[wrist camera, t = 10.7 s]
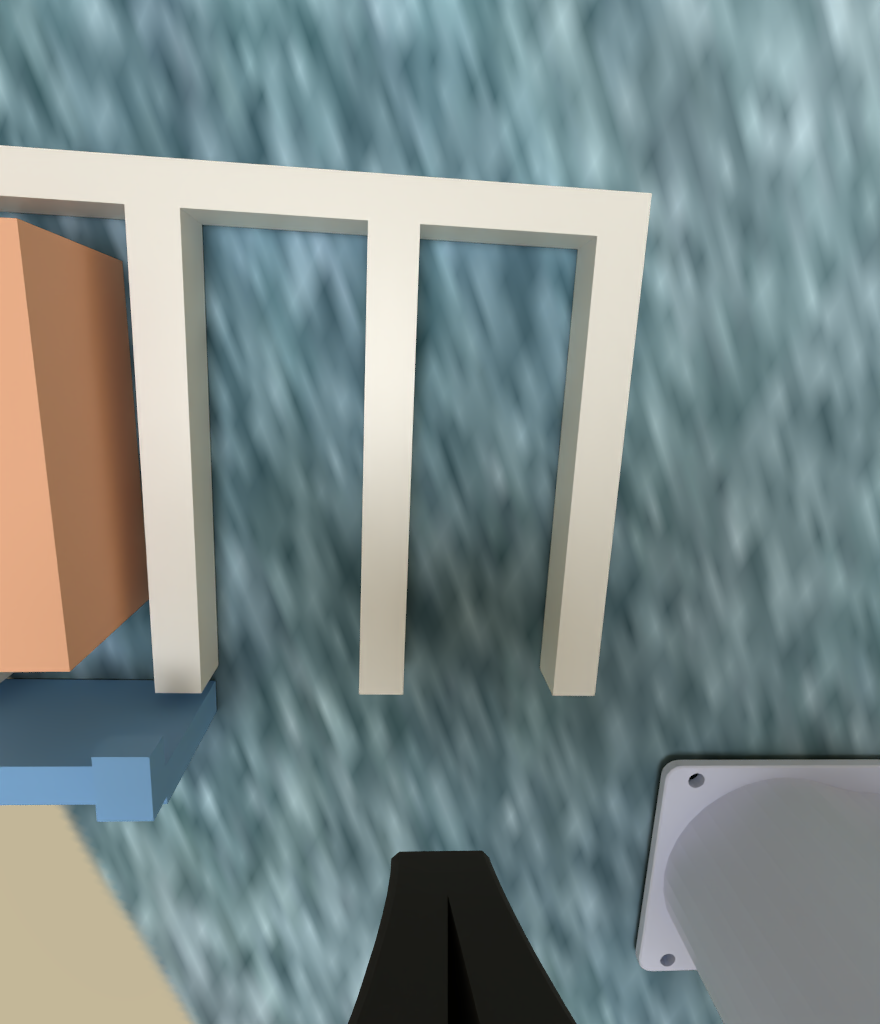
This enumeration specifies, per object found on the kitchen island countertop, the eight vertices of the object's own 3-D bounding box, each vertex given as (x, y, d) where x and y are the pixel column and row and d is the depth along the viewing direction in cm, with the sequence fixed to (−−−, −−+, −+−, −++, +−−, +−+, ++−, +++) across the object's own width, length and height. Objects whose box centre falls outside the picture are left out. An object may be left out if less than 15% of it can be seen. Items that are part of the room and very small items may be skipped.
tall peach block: (124, 262, 15) (17, 218, 11) (151, 596, 17) (70, 671, 13) (1, 257, 15) (-160, 209, 11) (42, 596, 17) (-79, 672, 13)
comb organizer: (626, 210, 16) (651, 193, 14) (578, 668, 19) (594, 695, 17) (-86, 160, 14) (-143, 135, 13) (-19, 662, 17) (-61, 691, 16)
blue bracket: (214, 655, 18) (148, 757, 13) (216, 711, 18) (154, 828, 13) (-16, 653, 17) (-170, 757, 13) (-9, 710, 18) (-156, 832, 13)
